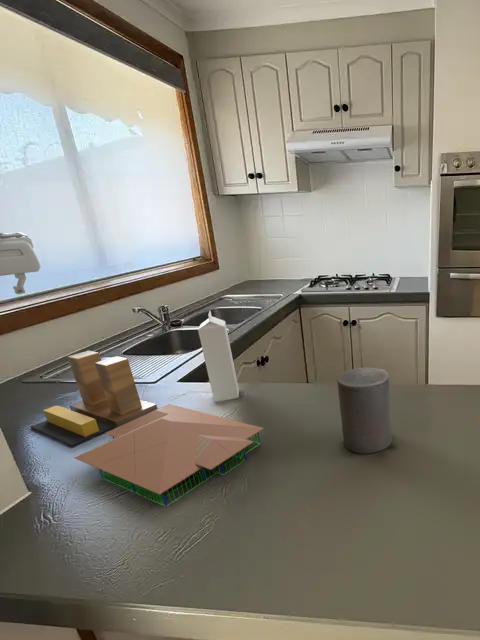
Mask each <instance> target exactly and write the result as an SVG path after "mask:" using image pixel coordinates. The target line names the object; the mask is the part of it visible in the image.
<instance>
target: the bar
mask: <svg viewBox="0 0 480 640" xmlns="http://www.w3.org/2000/svg"><path fill="white" fill-rule="evenodd" d="M42 412H43V414H44V416H45V419H46V420H47V421H48V422H50V423H53V424H55V425H57V426H60V427H62V428H65V429H67V430H70V431H72V432H74V433H77V434H79V435H82V436H84V437H87V436H89V435H91V434H93V433H96V432H98V431H99V428H98V425H97V422H96V419H94V418H91V417H88V416H86V415H83V414H80V413H77V412H74V411H72V410H71V409H70V408H69V409H68V408H66V407H64V406H61V405H54V406H50V407H47V408H45V409H43V411H42Z"/></svg>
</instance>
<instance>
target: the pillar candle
mask: <svg viewBox="0 0 480 640" xmlns="http://www.w3.org/2000/svg"><path fill="white" fill-rule="evenodd" d="M389 376H390V375H389V373H388V372H387V371H386V370H385V369H383V368H376V367H358V368H352V369H349V370H346V371H343V372H341V373H340V374H339V375H338V376H337V379H336V381H337V391H338V401H339V412H340V419H341V431H342V438H343V441H342V444H343V445H344V448H345V449H347V450H348V451H350V452H352V453H355V454H363V455H364V454H374V453H377V452H382V451H383V450H385V449H388V447H389V446H390V445H391V443H392V440H393V432H392V431H393V428H392V412H391V411H392V410H391V398H390V397H391V395H390V378H389Z"/></svg>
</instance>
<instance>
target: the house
mask: <svg viewBox="0 0 480 640" xmlns="http://www.w3.org/2000/svg"><path fill="white" fill-rule="evenodd" d="M263 430H265V428H264V427H261V426H257V425H253V424H249V423H245V422H241V421H237V420H234V419H229V418H226V417H221V416H217V415H213V414H209V413H206V412H202V411H198V410H194V409H191V408H186V407H182V406H178V405H174V404H170V403H168V404H166V405H163V406H162V407H159V408H158V409H157V410H155V411H152V412H150V413H148V414H146V415H144V416H141V417H139V418H137V419H135V420H133V421H130V422H128V423H126V424H124V425H122V426H119V427H115V429H113V430H111V431H108V432H106V433H104V435H105V434H106V435H108V436H111V437H112V439H111V440H108V441H107V442H104V443H102V444H100V445H98V446H96V447H94V448H92V449H90V450H87V451H86V452H85V451H84V452H83V453H81V454H79V455H77V456H74V459H75V460H77V461H80V462H82V463H85V464H87V465H89V466H92V467H94V468H97V469H98V470H99V472H100V475H101V478H102V479H103V480H105V481H107V482H109V483H111V484H114V485H116V486H119V487H121V488H123V489H125V490H128V491H129V492H132V493H134V494H137V495H139V496H141V497H143V498H145V499H148V500H150V501H152V502H154V503H157V504H159V505H161V506H163V507H166V508H167V507H168V506H170V505H171V504H173V503H174V502H176V501H177V500H179V499H180V498H182V497H183V496H185V495H186V494H188V493H189V492H190V491H192V490H194V489H195V488H197V487H198V486H200V485H201V484H203V483H205V482H206V481H208V480H209V479H211V477H213V476H214V475H217V474H219V475H220V476H224V475H226V474H227V473H229V472H231V471H232V470H234V469H235V468H236V467H238V466H239V465H241V464H242V463H244V462H245V461H247V457H246V454H248V453H249V452H250V451H252V450H253V449H255V448H256V447H258V446H260V445H261V444H262V443H261V438H260V433H259V432H261V431H263ZM254 437H255V438H254ZM255 440H256V441H255ZM252 444H253V445H254V446H252ZM256 444H257V445H256ZM249 446H250V448H251V449H249ZM246 448H247V451H246ZM243 456H244V457H243ZM230 458H231V460H230ZM234 459H235V460H236V462H234ZM237 459H239V463H238V460H237ZM241 460H242V461H241ZM226 461H227V462H226ZM230 462H232V466H233V467H231V463H230ZM223 463H224V464H223ZM234 463H236V465H235V464H234ZM227 465H228V466H229V470H228V468H227ZM224 466H225V471H226V472H225V473H224V468H223V467H224ZM217 468H218V469H217ZM214 470H215V471H214ZM206 471H208V473H209V477H207V472H206ZM211 471H212V472H213V474H211ZM198 473H199V474H198ZM190 476H192V478H191V479H190ZM187 478H188V481H186V479H187ZM195 478H197V480H198V483H199V484H196V480H195ZM203 479H204V480H203ZM192 480H193V482H194V485H195V486H194V487H193V486H192V482H191V481H192ZM200 480H201V481H200ZM182 481H184V484H182ZM179 483H180V486H179V487H178V486H177V485H178V484H179ZM188 483H189V484H190V485H189V486H190V488H191V489H188V485H187V484H188ZM183 486H185V487H186V491H187V492H185V493H184V488H183ZM173 487H175V488H176V489H173ZM180 488H181V490H182V491H181V492H182V495H180V491H179V489H180ZM169 489H171V492H170V493H169ZM175 491H177V495H178V497H177V498H176V496H175V493H174V492H175ZM164 493H167V494H166V495H165V494H164ZM171 494H173V499H174V500H171V497H170V495H171ZM166 497H168V498H169V502H170V503H169V504H167V501H166Z"/></svg>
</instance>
